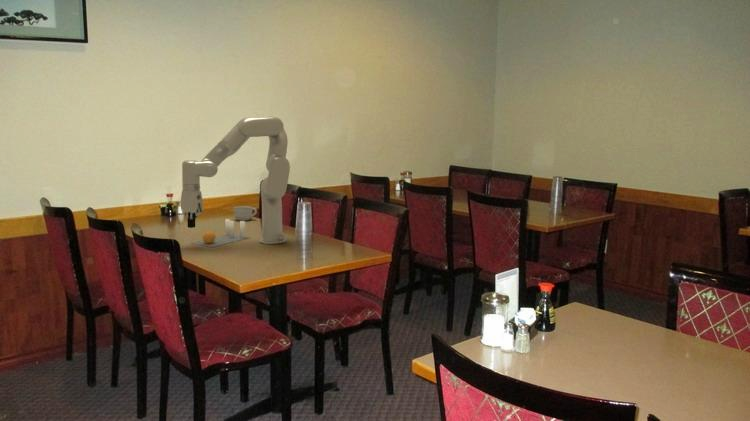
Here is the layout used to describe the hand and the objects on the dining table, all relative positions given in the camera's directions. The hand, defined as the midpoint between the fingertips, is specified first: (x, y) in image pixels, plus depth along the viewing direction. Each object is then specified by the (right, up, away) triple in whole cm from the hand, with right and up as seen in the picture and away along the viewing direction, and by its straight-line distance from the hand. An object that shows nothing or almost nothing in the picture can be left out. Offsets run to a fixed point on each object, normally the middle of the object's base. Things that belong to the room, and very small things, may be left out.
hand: (191, 227), depth 270 cm
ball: (+5, -5, +9) cm, 12 cm away
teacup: (+9, +2, +71) cm, 71 cm away
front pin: (+13, -6, +23) cm, 27 cm away
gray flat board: (+9, -7, +17) cm, 20 cm away
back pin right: (+10, -5, +27) cm, 30 cm away
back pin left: (+19, -6, +22) cm, 30 cm away
